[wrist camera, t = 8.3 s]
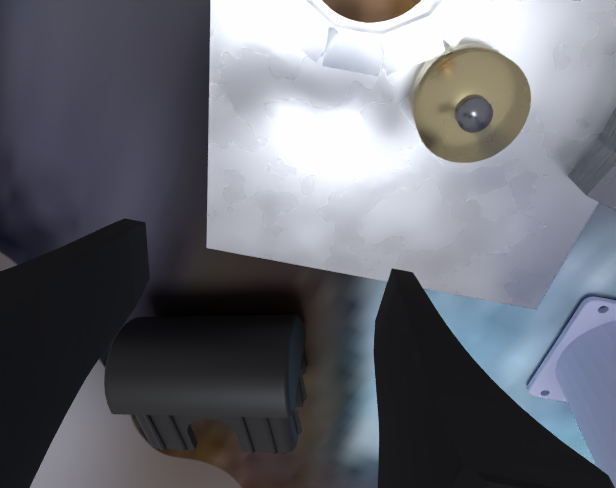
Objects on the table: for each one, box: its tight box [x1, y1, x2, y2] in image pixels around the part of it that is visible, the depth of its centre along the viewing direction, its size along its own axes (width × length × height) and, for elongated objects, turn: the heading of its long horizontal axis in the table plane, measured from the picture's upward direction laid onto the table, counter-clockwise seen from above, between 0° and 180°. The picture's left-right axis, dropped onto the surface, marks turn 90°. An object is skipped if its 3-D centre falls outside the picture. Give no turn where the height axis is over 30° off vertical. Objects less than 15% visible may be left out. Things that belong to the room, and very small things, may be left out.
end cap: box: [104, 314, 307, 454], centre depth 25 cm, size 10×7×7 cm
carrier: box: [207, 0, 616, 309], centre depth 17 cm, size 18×20×4 cm
